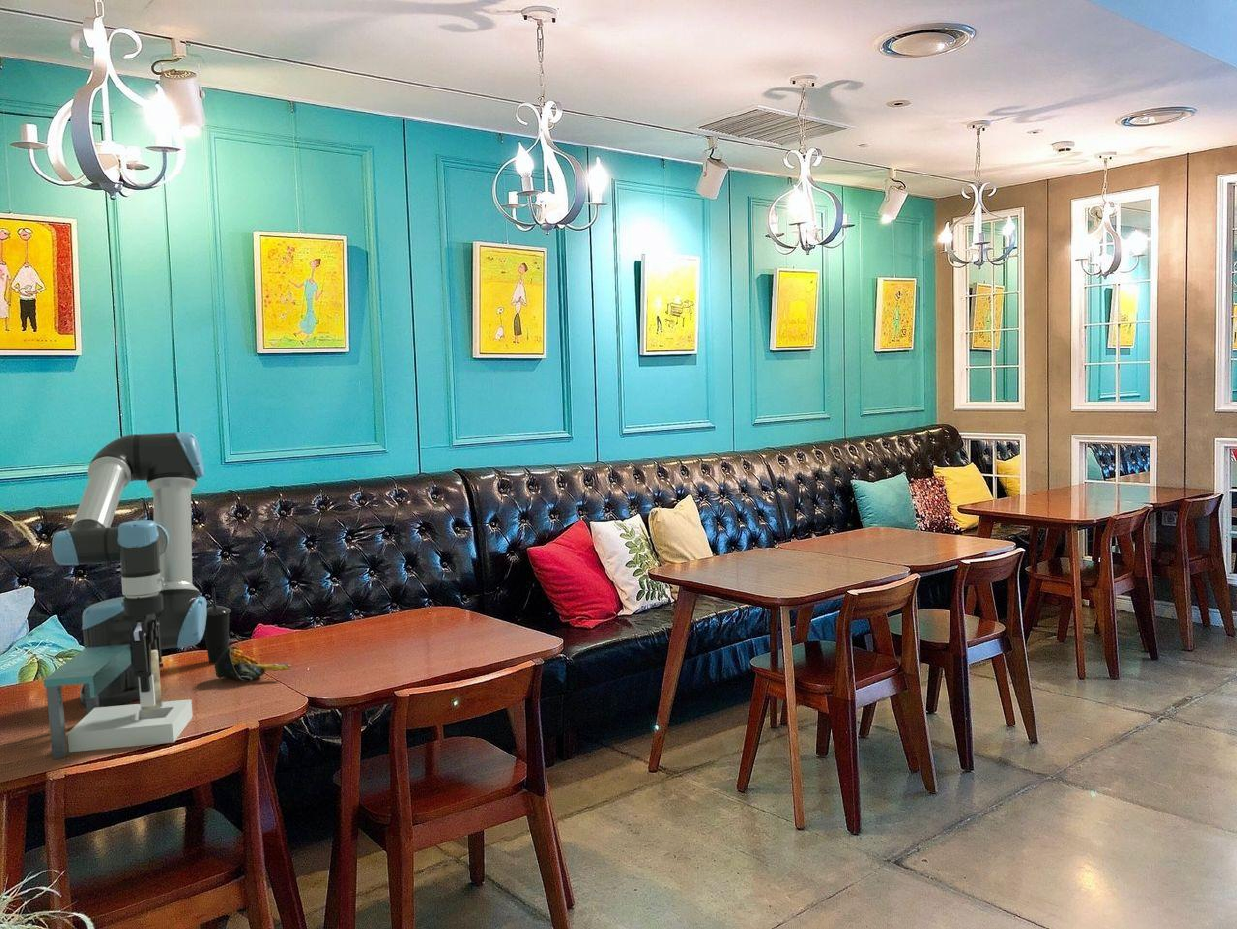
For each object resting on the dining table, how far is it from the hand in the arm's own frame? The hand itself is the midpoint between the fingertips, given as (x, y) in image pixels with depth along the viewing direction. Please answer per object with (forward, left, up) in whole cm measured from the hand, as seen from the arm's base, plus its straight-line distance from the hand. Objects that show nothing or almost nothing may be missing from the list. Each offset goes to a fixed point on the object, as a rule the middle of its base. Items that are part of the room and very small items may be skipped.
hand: (151, 702), depth 209 cm
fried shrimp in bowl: (-34, +14, -7) cm, 38 cm away
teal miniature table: (0, -12, -7) cm, 13 cm away
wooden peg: (0, 0, -1) cm, 1 cm away
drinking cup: (-54, +2, -7) cm, 55 cm away
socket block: (0, -4, -7) cm, 8 cm away
